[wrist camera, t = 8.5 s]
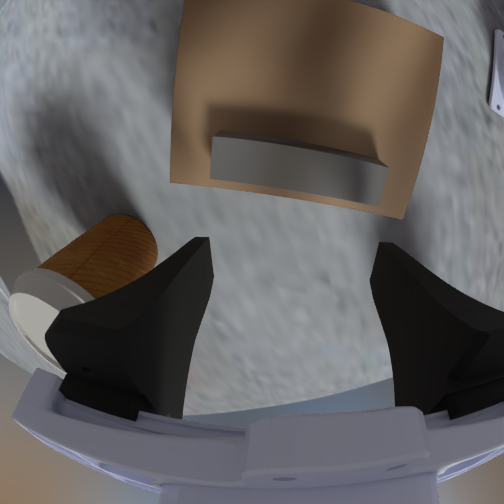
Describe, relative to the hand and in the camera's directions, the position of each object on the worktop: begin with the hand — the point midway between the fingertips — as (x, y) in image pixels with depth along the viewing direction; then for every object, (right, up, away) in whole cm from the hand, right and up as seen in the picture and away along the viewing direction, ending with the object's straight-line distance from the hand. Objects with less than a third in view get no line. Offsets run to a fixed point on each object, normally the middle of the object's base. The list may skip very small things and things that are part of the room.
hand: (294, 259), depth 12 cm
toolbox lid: (+1, +8, 0) cm, 8 cm away
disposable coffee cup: (-13, +1, +12) cm, 18 cm away
